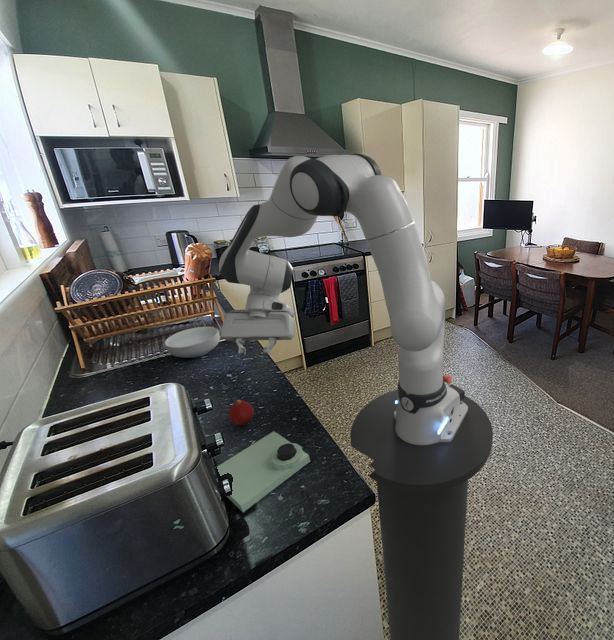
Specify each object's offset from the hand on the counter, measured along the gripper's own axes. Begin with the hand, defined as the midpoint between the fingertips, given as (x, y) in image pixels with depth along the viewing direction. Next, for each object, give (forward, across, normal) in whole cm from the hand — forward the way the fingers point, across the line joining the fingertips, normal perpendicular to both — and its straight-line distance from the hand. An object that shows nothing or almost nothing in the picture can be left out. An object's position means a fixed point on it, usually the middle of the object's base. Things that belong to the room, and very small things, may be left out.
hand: (254, 354), depth 97 cm
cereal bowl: (-9, -36, +30) cm, 48 cm away
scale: (+30, +11, -10) cm, 33 cm away
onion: (+19, 0, +2) cm, 19 cm away
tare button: (+27, +17, -11) cm, 33 cm away
